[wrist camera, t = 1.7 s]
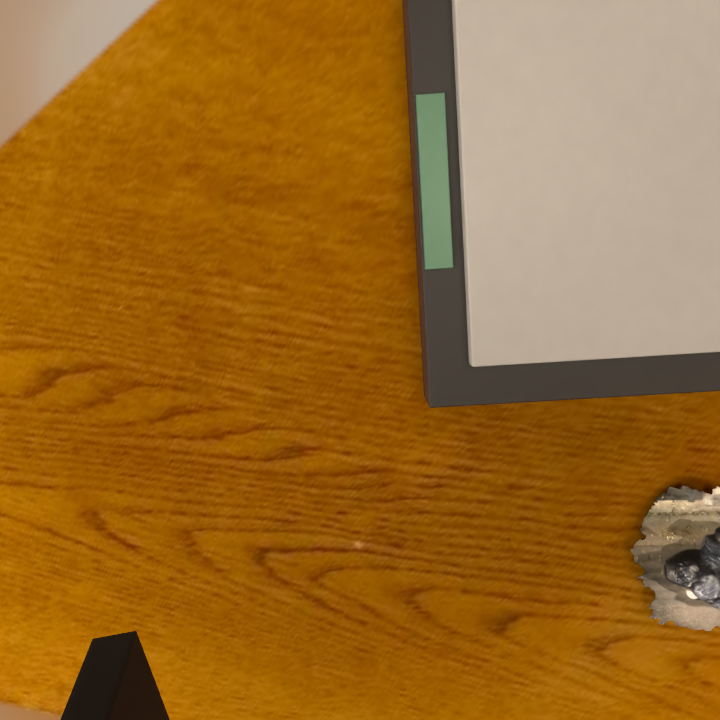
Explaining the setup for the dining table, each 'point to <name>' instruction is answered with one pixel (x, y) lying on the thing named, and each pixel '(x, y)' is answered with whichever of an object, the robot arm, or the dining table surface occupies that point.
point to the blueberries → (683, 557)
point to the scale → (565, 197)
